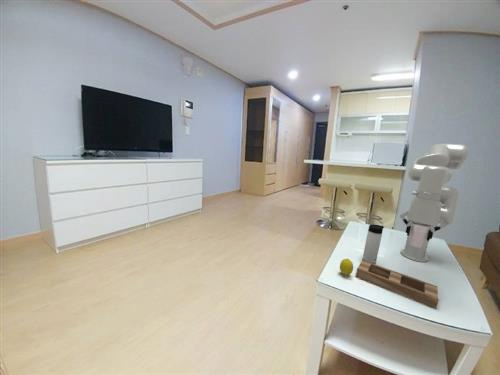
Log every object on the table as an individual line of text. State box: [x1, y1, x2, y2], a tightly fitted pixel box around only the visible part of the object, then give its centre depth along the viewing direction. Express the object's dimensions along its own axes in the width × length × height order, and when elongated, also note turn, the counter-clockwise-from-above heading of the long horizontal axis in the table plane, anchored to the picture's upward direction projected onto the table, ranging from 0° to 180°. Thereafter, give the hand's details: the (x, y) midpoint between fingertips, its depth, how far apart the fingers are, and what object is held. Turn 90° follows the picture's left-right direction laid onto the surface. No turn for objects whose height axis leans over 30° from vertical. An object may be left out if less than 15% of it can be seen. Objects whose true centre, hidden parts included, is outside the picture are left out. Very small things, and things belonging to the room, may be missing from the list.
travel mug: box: [361, 223, 385, 265], centre depth 110 cm, size 6×7×20 cm
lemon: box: [339, 258, 354, 276], centre depth 97 cm, size 6×6×8 cm
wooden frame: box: [355, 259, 440, 310], centre depth 92 cm, size 11×28×4 cm, turn 51°
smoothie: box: [411, 222, 430, 248], centre depth 90 cm, size 6×6×14 cm
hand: (417, 237), depth 91 cm, fingers closed on smoothie, 6 cm apart
